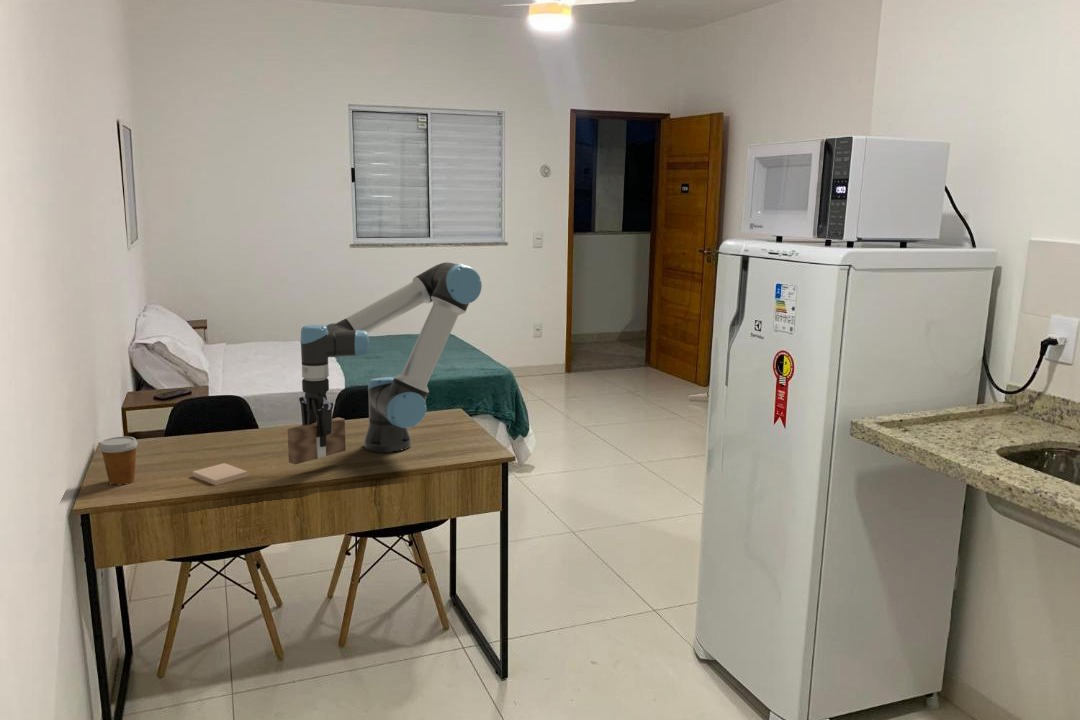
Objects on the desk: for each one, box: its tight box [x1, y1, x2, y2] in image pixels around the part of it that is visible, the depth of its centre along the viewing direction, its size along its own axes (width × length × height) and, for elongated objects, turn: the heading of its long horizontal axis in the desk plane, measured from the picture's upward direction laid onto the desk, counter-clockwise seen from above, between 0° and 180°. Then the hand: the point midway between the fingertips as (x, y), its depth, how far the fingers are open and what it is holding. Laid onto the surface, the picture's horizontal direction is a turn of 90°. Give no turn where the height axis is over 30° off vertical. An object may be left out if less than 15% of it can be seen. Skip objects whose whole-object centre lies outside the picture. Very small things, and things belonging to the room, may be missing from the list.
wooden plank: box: [287, 417, 346, 465], centre depth 235 cm, size 18×3×10 cm, turn 142°
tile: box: [192, 462, 249, 486], centre depth 229 cm, size 2×12×10 cm
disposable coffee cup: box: [98, 436, 139, 485], centre depth 222 cm, size 10×10×12 cm
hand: (317, 455), depth 236 cm, fingers closed on wooden plank, 3 cm apart
